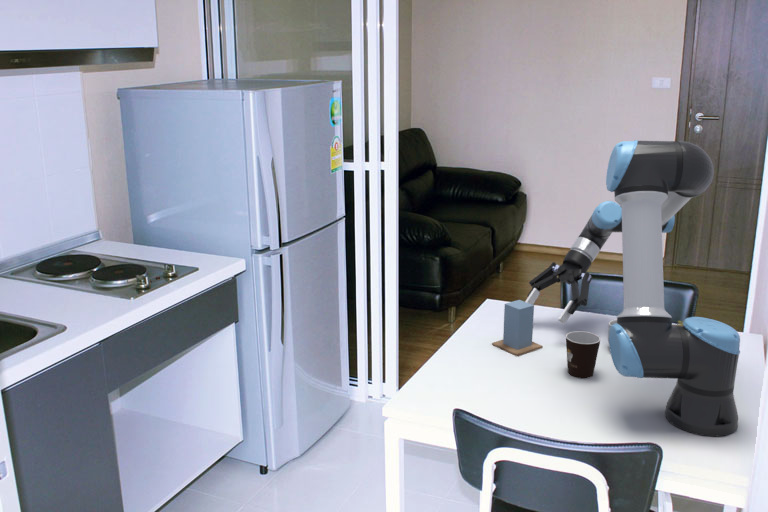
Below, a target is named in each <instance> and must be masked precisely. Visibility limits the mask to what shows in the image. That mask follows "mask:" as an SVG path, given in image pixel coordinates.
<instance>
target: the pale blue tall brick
mask: <svg viewBox="0 0 768 512" xmlns="http://www.w3.org/2000/svg"><path fill="white" fill-rule="evenodd" d="M534 310H535V305H534V304H533V305H532V304H529V303H527V302H525V301H524V300H521V299H518V300H514V301H510V302H506V303H504V310H503V311H504V315H503V316H504V317H503V336H502V340H503V344H505V345H507V346H510V347H512V348H514V349H516V350H519V349H522V348H525V347H528V346H531V345H532V342H533V333H534V332H533V329H534V312H535V311H534Z"/></svg>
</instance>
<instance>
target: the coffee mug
mask: <svg viewBox="0 0 768 512" xmlns="http://www.w3.org/2000/svg"><path fill="white" fill-rule="evenodd" d="M565 343H566V344H565V346H566V362H567V363H566V364H567V365H566V366H567V375H569V376H570V377H572V378H575V379H584V380H585V379H591V378H592V377H593V376H594V372H595V368H596V362H597V358H598V354H599V350H600V349H599V347H600V345H601V337H600V336H599V335H598V334H595V333H593V332H590V331H585V330H584V331H582V330H576V331H570V332H567V333H566V334H565Z"/></svg>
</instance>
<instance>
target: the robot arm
mask: <svg viewBox="0 0 768 512" xmlns="http://www.w3.org/2000/svg"><path fill="white" fill-rule="evenodd" d="M714 174H715V169H714V164H713V162H712V159H711V157H710V156H709V154H708V153H707V152H706V151H705V150H704V149H703V148H702V147H700V146H699V145H697V144H694V143H692V142H689V141H685V140H674V141H672V140H671V141H670V140H669V141H668V140H638V139H634V140H630V141H629V140H626V141H619V142H618V143H616V144H615V146H613V148H612V151H611V154H610V156H609V160H608V164H607V169H606V177H605V185H606V190H607V191H608V192H610V193H613V192H614V201H613V200H606V201H602V202H600V203H599V204H598V206H596V207H595V208H594V210H593V212H592V213H591V216H590V217H589V219H588V221H587V222H586V223H585V226H584V228H583V229H582V231H581V232H580V234H579V235H578V236H577V238H576V239H575V241H574V242H573V244H572V245H571V247H570V250H569V251H567V254H566V255H565V256H564V258H563V261H562V263H561V264H560V265H559V264H557V263H556V262H555V261H553V262H551V263H550V265H549V266H548V267H547V268H546V269H545V270H543V271H542V272H541V273H539V274H538V275H537V276H535V277H533V279H531V280H530V281H529V285H530V287H531V289H530V291H529V292H528V294H527V298H526V300H525V301H524V302H527V303H529V304H532V305H534V304H535V302H536V300H538V298H539V296H540V295H541V291H543V290H544V289H547V288H548V287H550V286H552V285H554V284H556V283H563V284H567V285H570V286H571V287H570V288H571V294H572V295H571V296H572V299H571V300H569V301H568V303H567V304H566V306H565V307H564V309H563V311H562V312H561V314H560V315H559V316H558V319H557V320H558V321H559V322H560V323H561V324H562V325H566V323H567V321H568V319H569V318H570V317H571V316H572V315H574V314H575V312H576V311H577V309H578V308H579V307H580V306H583V307H586V306H587V305H588V299H589V293H590V292H589V290H590V284H591V282H592V279H593V277H592V275H591V274H590V272H588V270H589V269H590V267H591V266H592V263H593V262H594V261H595V259H596V258H597V256H598V255H599V254H600V252H601V249H602V248H603V247H604V246H605V243H607V241H608V239H609V238H610V236H611V234H612V233H621V239H622V245H621V247H622V279H623V280H622V281H623V283H622V284H623V286H622V289H623V309H622V311H621V312H620V313H619V314H618V315H617V317H616V319H617V324H616V323H615V324H613V325H611V327H610V330H609V329H608V331H609V335H610V336H609V342H608V345H609V350H610V351H609V352H610V356H611V361H612V363H613V366H614V368H615V369H616V371H617V373H619V375H620V376H622V377H627V378H628V377H629V378H637V379H645V378H647V379H675V380H676V379H677V380H676V384H675V386H674V388H673V389H672V392H671V393H670V396H669V397H668V399H667V401H666V404H665V411H664V416H665V418H666V420H667V421H668V422H670V424H672V425H673V426H675V427H676V428H679V429H681V430H683V431H685V432H688V433H691V434H696V435H700V436H706V437H722V436H727V435H731V434H732V433H733V434H734V432H735V431H736V430H737V429H738V424H739V415H738V414H739V413H738V409H737V405H736V404H737V403H736V400H735V395H734V389H735V383H736V382H735V381H736V375H737V367H738V362H739V355H740V354H741V350H740V346H741V345H740V343H741V336H740V334H739V331H737V330H736V329H735V328H733V326H731V325H729V324H727V323H724V322H722V321H719V320H716V319H711V318H707V317H702V316H690V317H686V318H685V319H683V321H684V322H683V321H682V322H683V326H672V324H673V318H672V317H673V316H672V315H671V314H669V313H668V312H667V311H666V309H665V292H664V291H665V289H664V283H665V282H664V257H663V254H664V253H663V234H665V233H666V234H667V233H670V232H672V230H673V228H674V226H675V221H676V220H675V217H676V214H677V213H678V212H679V211H680V210H681V209H682V208H683V207H684V206H685V205H686V204H687V203H688V202H689V201H690V200H691V199H692V198H696V197H699V196H700V195H702V194H704V192H706V190H707V189H708V188H709V187H710V185H711V183H712V182H713V178H714ZM579 280H581V285H580V289H579Z"/></svg>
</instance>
